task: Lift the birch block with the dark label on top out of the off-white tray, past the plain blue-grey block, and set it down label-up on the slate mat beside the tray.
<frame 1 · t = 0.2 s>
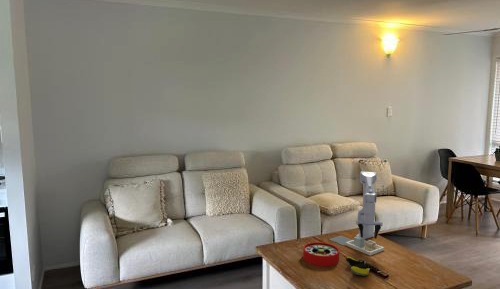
hand: (368, 237, 216), 10 cm above the table, tool pointing down, fingers open, 7 cm apart
toy clock: (320, 259, 212), on the table
tray: (364, 248, 226), on the table
birch block: (370, 250, 223), point 1 cm above the table, touching tray
blue-grey block: (359, 245, 229), point 1 cm above the table, touching tray
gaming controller: (357, 272, 196), on the table
mat: (342, 241, 237), on the table
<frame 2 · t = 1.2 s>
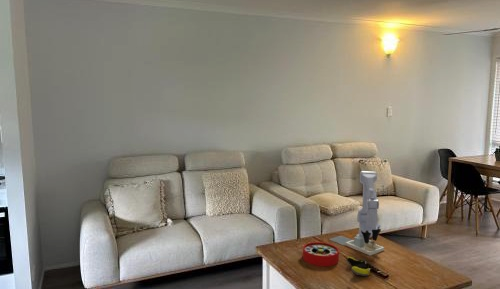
hand: (370, 241, 222), 6 cm above the table, tool pointing down, fingers open, 7 cm apart
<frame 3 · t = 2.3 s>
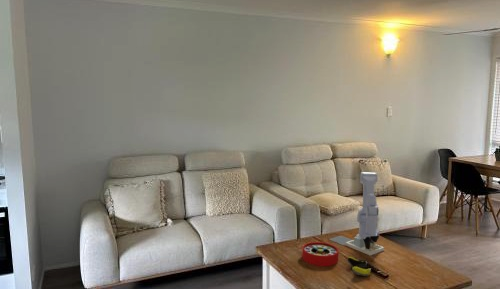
hand: (370, 247, 223), 2 cm above the table, tool pointing down, fingers closed on birch block, 4 cm apart
birch block: (370, 250, 223), point 1 cm above the table, touching gripper, tray
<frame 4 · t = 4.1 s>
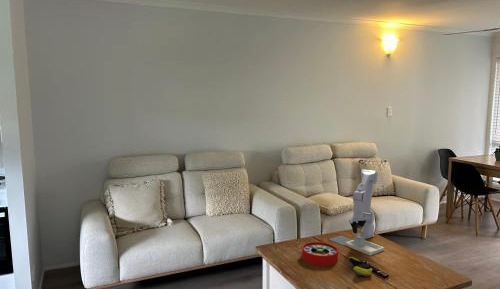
hand: (357, 232, 228), 9 cm above the table, tool pointing down, fingers closed on birch block, 4 cm apart
birch block: (357, 234, 229), point 8 cm above the table, touching gripper
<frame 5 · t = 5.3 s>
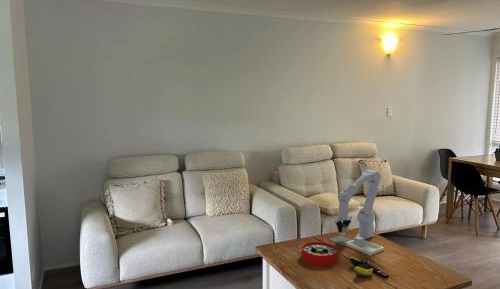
hand: (342, 231, 236), 6 cm above the table, tool pointing down, fingers closed on birch block, 4 cm apart
birch block: (342, 233, 236), point 5 cm above the table, touching gripper
when the fingers open (3 cm above the table, at t = 6.3 s): birch block drops 1 cm, resting on mat.
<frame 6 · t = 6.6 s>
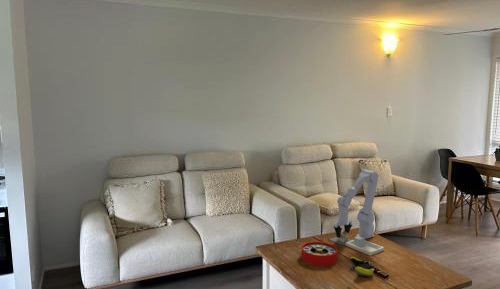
hand: (342, 236, 237), 3 cm above the table, tool pointing down, fingers open, 7 cm apart
birch block: (342, 240, 237), point 1 cm above the table, touching mat
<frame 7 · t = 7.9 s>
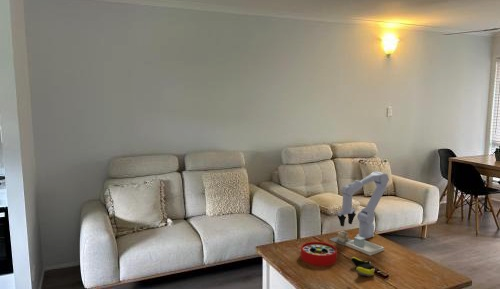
hand: (346, 224, 240), 9 cm above the table, tool pointing down, fingers open, 7 cm apart
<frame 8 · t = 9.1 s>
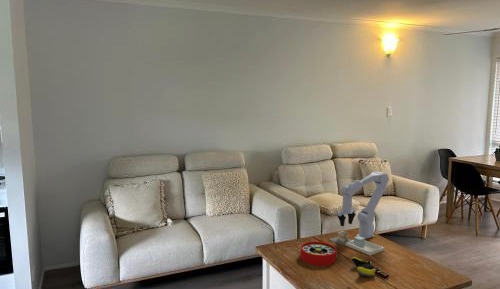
hand: (346, 224, 240), 9 cm above the table, tool pointing down, fingers open, 7 cm apart
at the end: birch block inside the target area on the mat (0.3 cm from its centre), point 0.8 cm above the mat's base; birch block tilted 0°; blue-grey block moved 0.0 cm from its start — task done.
